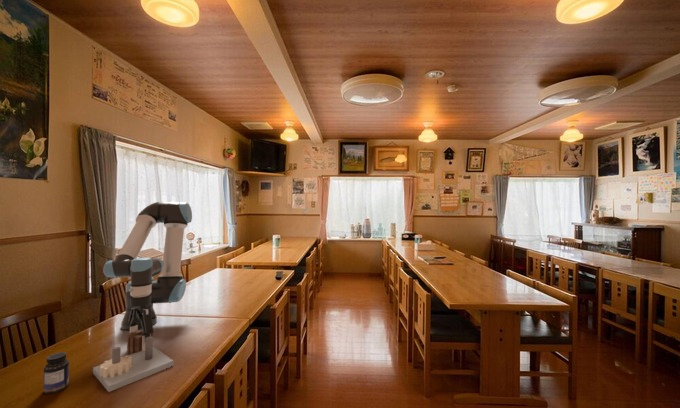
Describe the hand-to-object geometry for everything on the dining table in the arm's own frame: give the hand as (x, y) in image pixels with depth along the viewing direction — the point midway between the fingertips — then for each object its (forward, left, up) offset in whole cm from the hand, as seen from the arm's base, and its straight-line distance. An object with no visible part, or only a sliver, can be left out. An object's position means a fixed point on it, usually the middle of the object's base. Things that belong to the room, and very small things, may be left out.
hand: (139, 345), depth 124 cm
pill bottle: (+8, -27, -2) cm, 28 cm away
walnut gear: (0, 0, -2) cm, 2 cm away
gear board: (+15, -7, -2) cm, 16 cm away
